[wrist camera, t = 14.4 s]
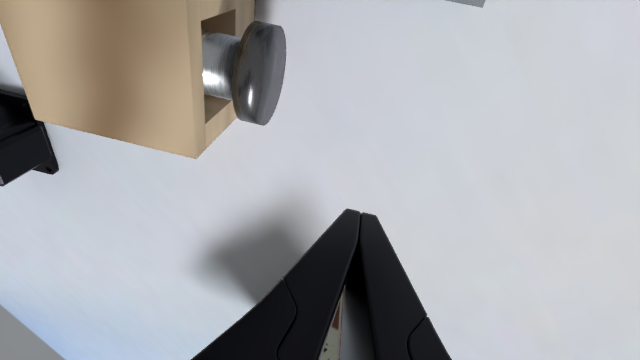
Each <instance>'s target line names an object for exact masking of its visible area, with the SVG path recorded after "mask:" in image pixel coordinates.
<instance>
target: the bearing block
mask: <svg viewBox="0 0 640 360" xmlns="http://www.w3.org/2000/svg"><path fill="white" fill-rule="evenodd" d="M254 13H255V0H0V24H1V27H2V29H3V32H4V35H5V38H6V41H7V43H8V46H9V49H10V52H11V54H12V57H13V60H14V63H15V65H16V68H17V71H18V74H19V76H20V79H21V82H22V85H23V88H24V90H25V93H26V96H27V99H28V101H29V104H30V107H31V110H32V112H33V115H34V118H35V120H39V121H43V122H47V123H51V124H55V125H59V126H63V127H67V128H72V129H76V130H80V131H84V132H88V133H92V134H96V135H100V136H104V137H108V138H112V139H116V140H120V141H125V142H129V143H133V144H137V145H141V146H145V147H149V148H153V149H157V150H161V151H165V152H169V153H173V154H178V155H182V156H186V157H190V158H194V159H197V158H198V157H199V156H200V155H201V154H202V152H203V151H204V150H205V149H206V148H207V147H208V146H209V145H210V144H211V143H212V142H213V141H214V140H215V139H216V138H217V137H218V136H219V135H220V134H221V133H222V132H223V131H224V130H225V129H226V128H227V127H228V126H229V125H230V124H231V123H232V122H233V121H234V120H235V119H236V118H237V116H236V114H235V111H234V107H233V101H232V100H228V99H224V98H219V97H215V96H211V95H206V94H204V84H203V61H202V37H201V29H204V30H209V31H214V32H218V33H223V34H227V35H232V36H236V37H241V38H242V36H243V34H244V32H245V30H246V28H247V27H248V26H249V25H250V23H252V22H253V21H254Z"/></svg>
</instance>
